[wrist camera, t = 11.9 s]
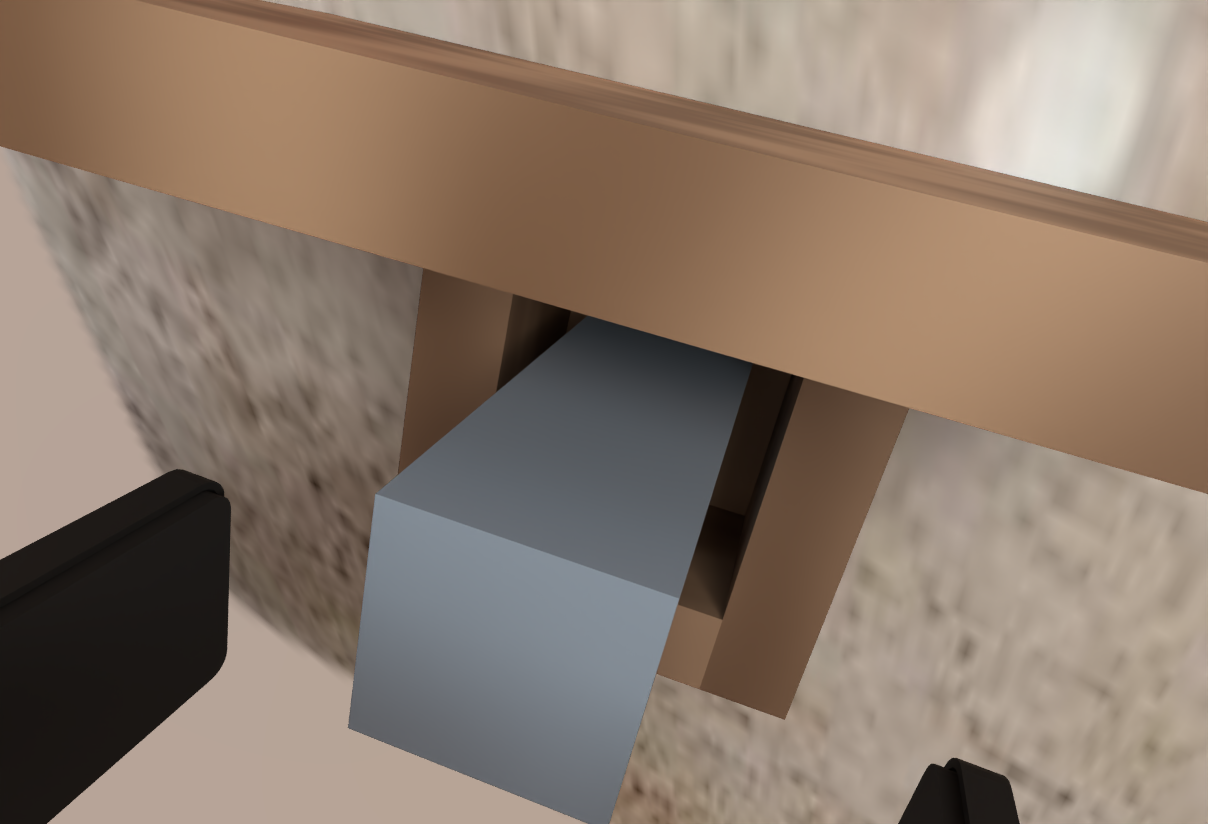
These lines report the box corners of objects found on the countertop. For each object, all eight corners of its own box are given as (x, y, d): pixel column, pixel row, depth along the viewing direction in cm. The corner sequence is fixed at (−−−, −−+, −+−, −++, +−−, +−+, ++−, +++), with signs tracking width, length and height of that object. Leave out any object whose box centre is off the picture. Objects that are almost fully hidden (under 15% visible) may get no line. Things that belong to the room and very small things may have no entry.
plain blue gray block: (760, 338, 20) (679, 598, 10) (718, 474, 22) (606, 831, 11) (611, 295, 21) (374, 494, 10) (580, 430, 23) (347, 727, 12)
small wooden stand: (1251, 232, 19) (2146, 493, 6) (1033, 639, 23) (1273, 1266, 11) (328, 13, 22) (-325, -113, 10) (302, 401, 27) (-161, 655, 14)
